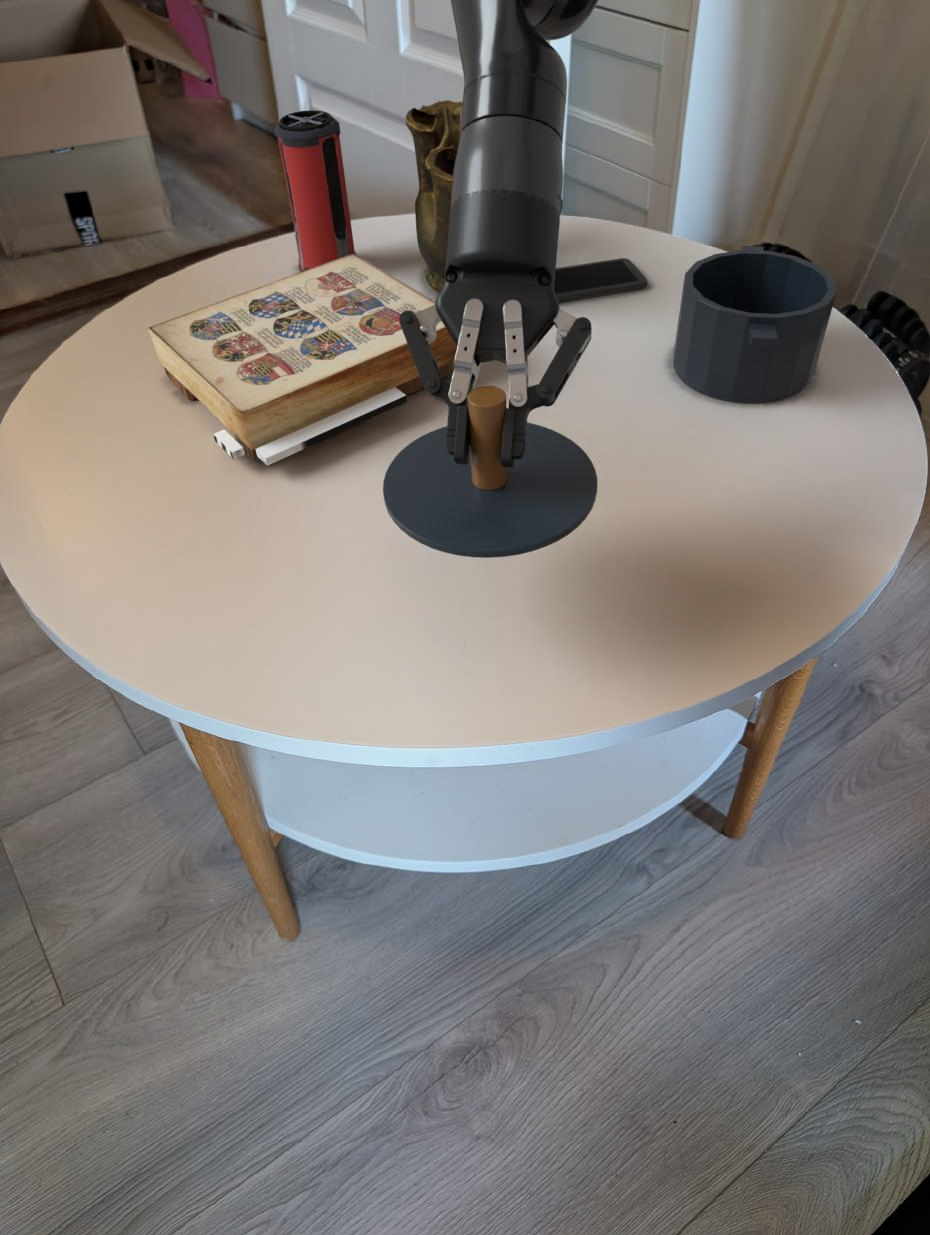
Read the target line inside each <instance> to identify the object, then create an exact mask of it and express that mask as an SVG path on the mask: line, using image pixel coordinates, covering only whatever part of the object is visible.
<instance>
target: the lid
mask: <svg viewBox="0 0 930 1235" xmlns="http://www.w3.org/2000/svg"><path fill="white" fill-rule="evenodd" d="M505 408H507V394H506V391H505V390H503V389H502V388H501V387H498V386H495V385H481V386H477V387H474V389H473V390H472V391H471V392H470V393H469V394H468V415H469V434H470V448H469V460H468V464H467V465H463V464H457V463H456V462H455V461H454V455H451V454H450V453H449V452H448V450H447V447H446V436H447V425H445V426H443V427H439V428H437V429H434V430H432V431H429V432H427V433H425V434H423V435H421V436H420V437H417V438H416V439H415V440H413V441H411V442H410V443H409V444H407V445H406V446H405V447H403V449H401V450H400V451H399V452H398V453H397V455H395V457H394V458H393V460H392V461H391V462H390V463H389V465H388V467H387V470H386V471H385V474H384V478H383V483H382V494H383V500H384V506H385V508H386V511H387V513H388V515H389V517H390V518H391V520H392V521H393V523H394V524H395V525H396V526H397V527H398V528H399V529H400V530H401V531H402V532H403V533H405V534H406V535H407V536H408V537H409V538H411V539H413V540H415V541H416V542H417V543H419V544H422V545H424V546H426V547H428V548H431V549H433V550H435V551H439V552H441V553H445V554H450V555H453V556H454V555H455V556H461V557H468V558H482V559H483V558H484V559H490V558H505V557H513V556H519V555H523V554H527V553H533V552H535V551H538V550H540V549H543V548H546V547H548V546H551V545H554V544H555V543H557V542H559V541H561V540H562V539H563V538H565V537H567V536H569V535H570V534H572V533H573V532H574V531H575V530H576V529H578V528H579V527H580V526H581V525H582V523H583V522H584V521H585V520H586V519H587V517H588V516H589V514H590V513H591V511H592V510H593V507H594V505H595V503H596V500H597V494H598V475H597V472H596V471H597V470H596V468H595V465H594V464H593V461H592V460H591V458H590V457H589V456H588V454H587V453H586V451H585V450H584V449H582V447H581V446H580V445H579V444H577V443H576V442H574V440H572V439H571V438H568V437H567V436H566V435H564V434H562V433H560V432H558V431H556V430H553V429H551V428H549V427H546V426H543V425H539V424H536V423H532V422H528V421H527V428H526V440H525V452H524V455H523V457H522V459H521V460H520V459H514V467H513V468H510V467H503V466H502V465H501V452H502V440H503V428H504V416H505Z"/></svg>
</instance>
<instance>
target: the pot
mask: <svg viewBox="0 0 930 1235" xmlns="http://www.w3.org/2000/svg"><path fill="white" fill-rule="evenodd" d="M837 292H838V291H837V287H836V284H835V281H834V278H833V276H832V275H830V274H829V273H828V272H826V270H824V268H822V267H821V266H820V265H818V264H816V263H813V262H811V261H808V260H806V259H803V258H801V257H799V256H797V255H791V254H787V253H786V254H785V253H781V252H775V251H772V250H764V246H759V245H758V246H757V245H756V246H754V245H741V246H740V247H739V250H732V251H725V252H719V253H714V254H711V255H709V256H707V257H705V258H702V259H699V260H697V261H695V262H694V263H693V264H692V266H691V267H689V269H687V271H686V272H685V273H684V279H683V285H682V291H681V299H680V305H679V314H678V321H677V326H676V334H675V340H674V347H673V361H672V365H673V370H674V373H675V374H676V376H677V378H679V380H681V382H683V383H684V384H685V385H686V386H687V387H689V388H690V389H692V390H694V391H696V392H697V393H699V394H702V395H704V396H707V397H709V398H712V399H716V400H720V401H723V402H728V403H729V402H730V403H735V404H746V405H747V404H750V405H751V404H752V405H753V404H754V405H755V404H768V403H774V402H780V401H783V400H786V399H790V398H791V397H794V396H796V395H797V394H799V393H801V392H802V391H804V390H805V389H806V388H807V387H808V385H809V384H810V382H811V380H812V378H813V376H814V374H815V372H816V368H817V364H818V361H819V357H820V355H821V354H820V353H821V350H822V346H823V343H824V339H825V336H826V332H827V329H828V328H827V327H828V324H829V322H830V318H831V314H832V311H833V307H834V305H835V304H834V303H835V300H836V296H837Z"/></svg>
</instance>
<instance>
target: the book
mask: <svg viewBox="0 0 930 1235" xmlns="http://www.w3.org/2000/svg"><path fill="white" fill-rule="evenodd" d="M435 301H436V300H433V299H431V298H429V297H427V296H426V295H425V294H423V293H421V292H420V291H418V290H416V289H414V288H413V287H411V286H410V285H408V284H406V283H404V282H403V281H401V280H399V279H397V278H396V277H394V276H393V275H391V274H389V273H387V272H386V271H384V270H383V269H381V268H379V267H378V266H376V265H374V264H372V263H371V262H369V261H368V260H366V259H364V258H362V257H361V256H359V255H358V254H357V253H356V254H354V253H352V254H350V255H347V256H344V257H341V258H339V259H336V260H333V261H330V262H328V263H325V264H322V265H319V266H317V267H314V268H311V269H308V270H306V271H303V272H301V271H300V272H298V273H295V274H293V275H289V276H287V277H284V278H281V279H278V280H275V281H273V282H270V283H268V284H265V285H261V286H259V287H256V288H254V289H251V290H248V291H246V292H242V293H240V294H237V295H235V296H231V297H229V298H226V299H224V300H220V301H217V302H215V303H213V304H210V305H206V306H204V307H201V308H198V309H195V310H193V311H191V312H187V313H186V314H182V315H179V316H176V317H174V318H171V319H167V320H166V321H163V322H160V323H157V324H154V325H152V326H149V327H148V328H147V330H148V332H149V334H150V338H151V341H152V343H153V346H154V349H155V352H156V356H157V357H158V361H159V364H160V365H162V366H163V369H164V372H165V375H166V376H167V377H168V379H169V380H170V381H171V383H172V384H173V385H174V386H175V387H176V388H177V389H178V390H179V391H180V392H181V393H182V394H183V396H184V397H185V398H186V399H187V400H189V401H195V399H197V400H198V401H199V402H200V403H201V404H202V405H203V406H204V407H205V408H206V409H207V410H209V411H210V412H211V413H212V414H213V415H214V416H215V418H217V419H218V421H220V422H221V423H222V424H223V425H224V426H225V427H227V429H228V430H229V431H231V432H232V433H233V435H234V437H233V436H232V435H231V434H229V432H228V431H227V430H225V429H222V430H219V431H217V432H214V433H213V434H212V436H213V439H214V442H215V443H216V444H217V445H218V446H220V447H221V449H223V450H224V452H225V453H226V454H228V455H229V456H230V457H231V459H233V460H236V459H238V458H240V457H243V456H245V455H246V456H247V457H249V458H250V459H251V460H252V461H257V460H261V462H263V463H264V464H265V465H266V466H269V465H272V464H274V463H276V462H279V461H282V460H284V459H285V458H287V457H289V456H292V455H294V454H297V453H298V452H300V451H303V450H305V449H308V448H309V447H311V446H314V445H316V444H318V443H320V442H322V441H325V440H327V439H329V438H331V437H334V436H336V435H337V434H340V433H342V432H345V431H347V430H349V429H351V428H353V427H356V426H358V425H361V424H362V423H365V422H366V421H369V420H371V419H373V418H375V417H377V416H380V415H382V414H384V413H386V412H389V411H391V410H393V409H395V408H397V407H399V406H402V405H404V404H407V403H408V399H407V398H408V397H407V394H412V393H415V392H418V391H420V390H421V389H424V386H423V383H422V381H421V378H420V376H419V373H418V370H417V368H416V365H415V362H414V360H413V357H412V354H411V352H410V349H409V347H408V344H407V341H406V339H405V336H404V333H403V331H402V328H401V325H400V323H399V317H400V314H401V313H402V312H404V311H407V310H409V311H412V312H413V313H414V314H415V313H417V312H419V311H422V310H424V309H426V308H428V307H431V306H433V305H435ZM429 345H430V348H431V350H432V353H433V356H434V358H435V361H436V363H437V366H438V369H439V371H440V374H441V377H442V378H445V377H450V376H451V375H453V371H454V360H455V355H456V350H457V345H456V344H455V342H454V340H453V339H452V337H451V336H450V334H449V332H448V331H447V329H446V327H445V326H444V324H443V322H442V321H441V322H439V323H438V324H437V326H436V339H435V341H434V342H433V343H431V344H429Z"/></svg>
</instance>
